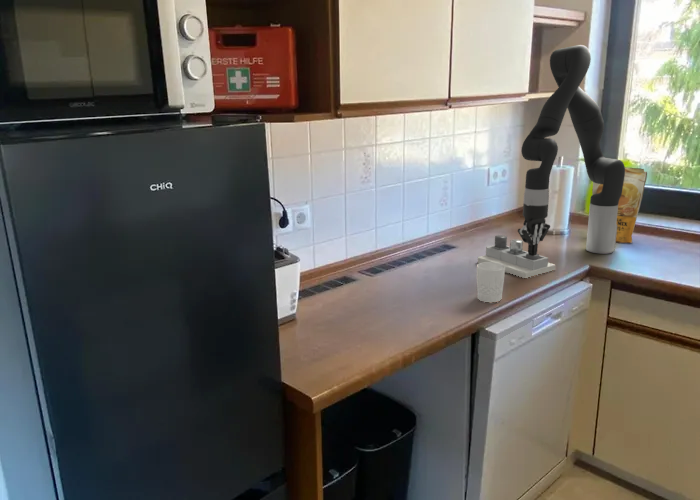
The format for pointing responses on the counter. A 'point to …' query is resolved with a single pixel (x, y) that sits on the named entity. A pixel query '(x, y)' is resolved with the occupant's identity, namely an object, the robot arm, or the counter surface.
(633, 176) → the pancake mix bag
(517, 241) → the steel knob
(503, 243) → the charcoal knob
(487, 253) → the panel
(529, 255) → the charcoal knob
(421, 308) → the counter surface
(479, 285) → the white cup
